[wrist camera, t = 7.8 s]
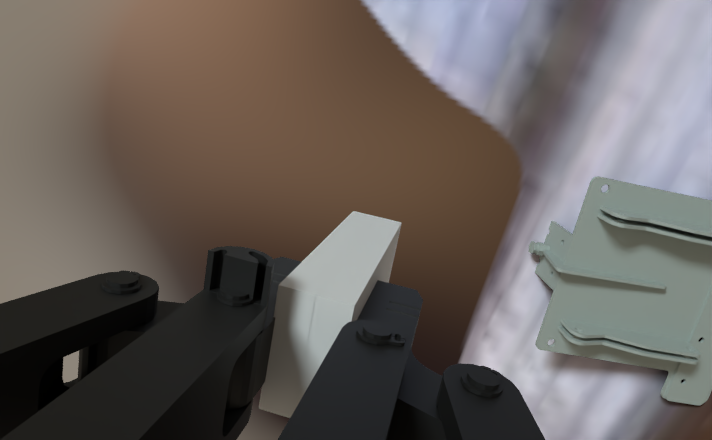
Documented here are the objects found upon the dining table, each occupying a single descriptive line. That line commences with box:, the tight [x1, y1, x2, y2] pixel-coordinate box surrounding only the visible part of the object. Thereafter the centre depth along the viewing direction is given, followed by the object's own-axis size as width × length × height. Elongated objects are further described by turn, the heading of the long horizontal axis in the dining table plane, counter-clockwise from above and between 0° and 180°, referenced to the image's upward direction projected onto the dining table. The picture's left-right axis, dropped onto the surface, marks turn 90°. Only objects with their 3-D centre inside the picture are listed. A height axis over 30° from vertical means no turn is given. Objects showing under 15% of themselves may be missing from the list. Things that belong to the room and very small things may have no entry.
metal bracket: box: [529, 177, 712, 405], centre depth 34 cm, size 14×6×15 cm
